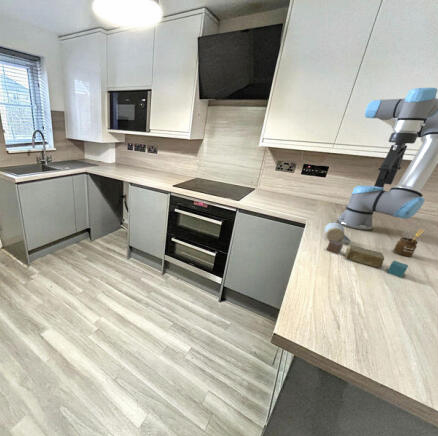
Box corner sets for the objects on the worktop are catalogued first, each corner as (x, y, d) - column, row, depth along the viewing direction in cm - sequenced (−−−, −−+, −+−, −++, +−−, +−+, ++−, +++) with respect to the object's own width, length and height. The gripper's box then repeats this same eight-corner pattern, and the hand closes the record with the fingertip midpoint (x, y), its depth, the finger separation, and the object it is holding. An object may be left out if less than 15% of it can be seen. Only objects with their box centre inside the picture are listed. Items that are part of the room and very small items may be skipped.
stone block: (344, 253, 101) (348, 243, 100) (379, 263, 95) (384, 252, 93) (344, 259, 97) (349, 248, 95) (381, 269, 91) (387, 258, 89)
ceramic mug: (323, 239, 114) (328, 225, 111) (322, 234, 120) (327, 220, 118) (350, 246, 109) (357, 231, 106) (348, 240, 115) (354, 226, 112)
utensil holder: (389, 250, 107) (400, 225, 103) (403, 250, 107) (415, 226, 103) (401, 256, 102) (414, 231, 98) (416, 257, 102) (429, 232, 97)
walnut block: (329, 247, 106) (332, 239, 105) (340, 251, 103) (343, 243, 102) (326, 250, 104) (329, 241, 103) (337, 253, 101) (340, 245, 100)
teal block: (389, 269, 91) (393, 260, 90) (403, 274, 88) (408, 265, 87) (386, 272, 89) (391, 263, 88) (401, 277, 86) (406, 268, 85)
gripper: (412, 131, 83) (387, 190, 90) (424, 134, 97) (401, 184, 104) (384, 131, 88) (362, 186, 96) (399, 133, 102) (379, 181, 110)
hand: (382, 185), depth 100 cm, fingers open, 13 cm apart
